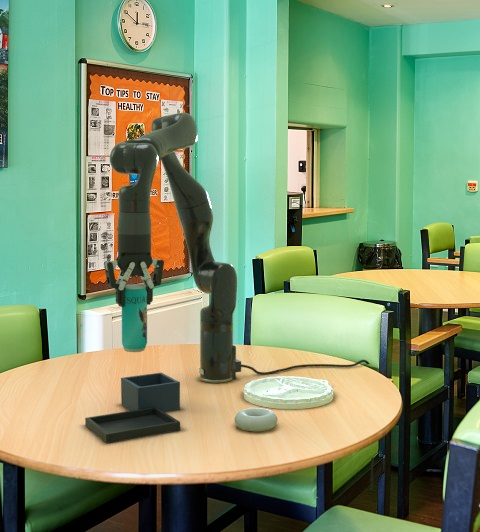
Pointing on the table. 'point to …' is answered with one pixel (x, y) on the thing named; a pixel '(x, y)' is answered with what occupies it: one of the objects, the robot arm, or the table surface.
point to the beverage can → (134, 318)
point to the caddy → (150, 392)
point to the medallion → (288, 392)
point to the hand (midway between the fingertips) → (134, 305)
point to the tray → (131, 424)
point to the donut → (255, 419)
